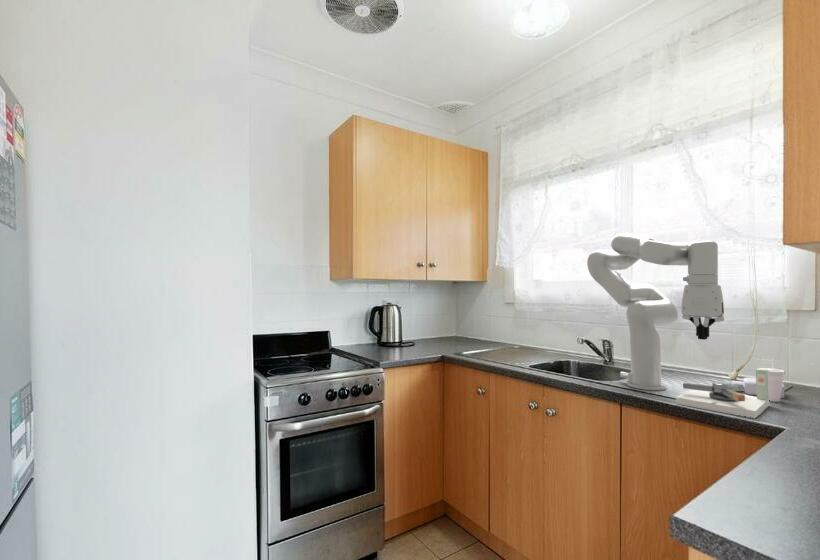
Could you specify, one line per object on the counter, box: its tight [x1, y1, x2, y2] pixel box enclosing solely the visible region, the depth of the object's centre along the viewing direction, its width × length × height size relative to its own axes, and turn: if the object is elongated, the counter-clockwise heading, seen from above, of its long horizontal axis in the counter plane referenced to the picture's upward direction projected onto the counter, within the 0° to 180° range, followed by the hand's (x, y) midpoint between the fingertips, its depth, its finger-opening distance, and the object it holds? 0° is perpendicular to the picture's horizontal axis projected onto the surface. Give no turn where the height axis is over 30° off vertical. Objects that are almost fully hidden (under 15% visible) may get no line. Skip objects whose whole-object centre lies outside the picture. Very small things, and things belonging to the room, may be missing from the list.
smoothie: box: [759, 355, 786, 403], centre depth 126 cm, size 6×6×14 cm
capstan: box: [682, 381, 746, 401], centre depth 119 cm, size 17×15×4 cm
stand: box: [675, 367, 770, 419], centre depth 122 cm, size 19×19×11 cm
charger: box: [723, 377, 785, 399], centre depth 135 cm, size 5×9×15 cm
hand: (702, 338), depth 123 cm, fingers closed
